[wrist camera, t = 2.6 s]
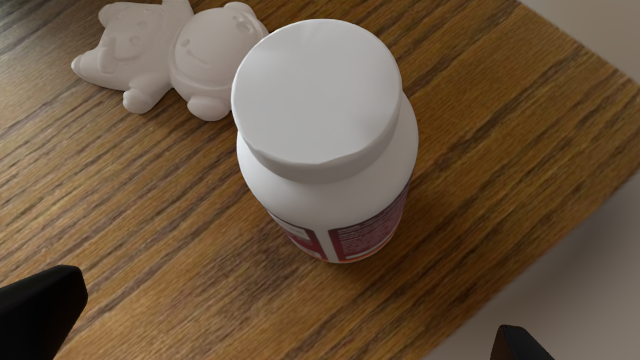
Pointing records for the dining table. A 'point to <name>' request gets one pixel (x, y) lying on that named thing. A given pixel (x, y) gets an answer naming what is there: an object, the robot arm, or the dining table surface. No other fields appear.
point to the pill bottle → (326, 136)
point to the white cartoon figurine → (172, 53)
